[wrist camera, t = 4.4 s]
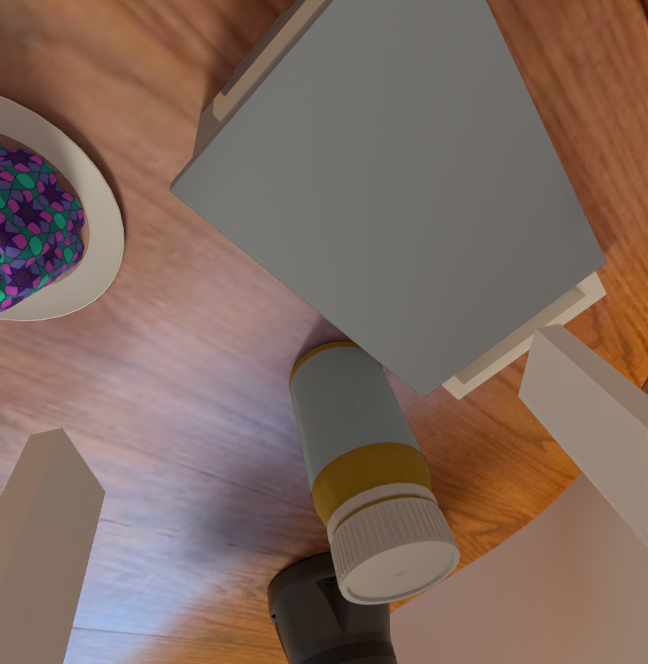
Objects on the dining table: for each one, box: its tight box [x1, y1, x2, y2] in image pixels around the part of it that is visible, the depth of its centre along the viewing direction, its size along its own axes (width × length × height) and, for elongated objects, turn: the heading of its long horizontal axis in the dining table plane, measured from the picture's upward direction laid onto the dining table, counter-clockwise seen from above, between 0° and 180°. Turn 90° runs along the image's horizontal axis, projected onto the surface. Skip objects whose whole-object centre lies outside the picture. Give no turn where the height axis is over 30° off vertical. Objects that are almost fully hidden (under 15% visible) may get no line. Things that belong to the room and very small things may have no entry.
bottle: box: [289, 342, 460, 605], centre depth 26 cm, size 7×7×15 cm
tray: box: [442, 271, 606, 400], centre depth 29 cm, size 13×13×2 cm
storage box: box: [169, 0, 607, 398], centre depth 18 cm, size 13×9×12 cm
